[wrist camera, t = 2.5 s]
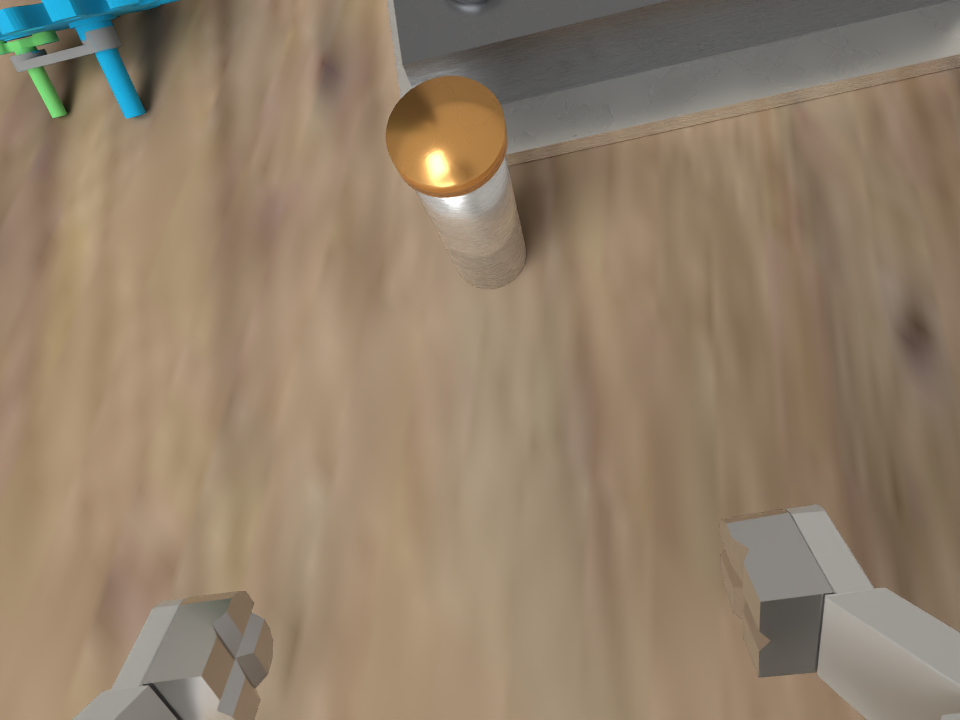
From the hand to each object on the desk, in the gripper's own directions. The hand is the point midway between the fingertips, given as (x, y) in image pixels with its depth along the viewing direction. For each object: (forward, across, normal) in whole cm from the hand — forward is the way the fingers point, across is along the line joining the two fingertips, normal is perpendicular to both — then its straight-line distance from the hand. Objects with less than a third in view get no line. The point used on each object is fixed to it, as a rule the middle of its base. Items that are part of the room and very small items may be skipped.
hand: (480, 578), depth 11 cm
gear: (+30, +17, -8) cm, 36 cm away
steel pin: (+20, 0, +2) cm, 20 cm away
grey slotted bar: (+27, -10, -5) cm, 29 cm away
